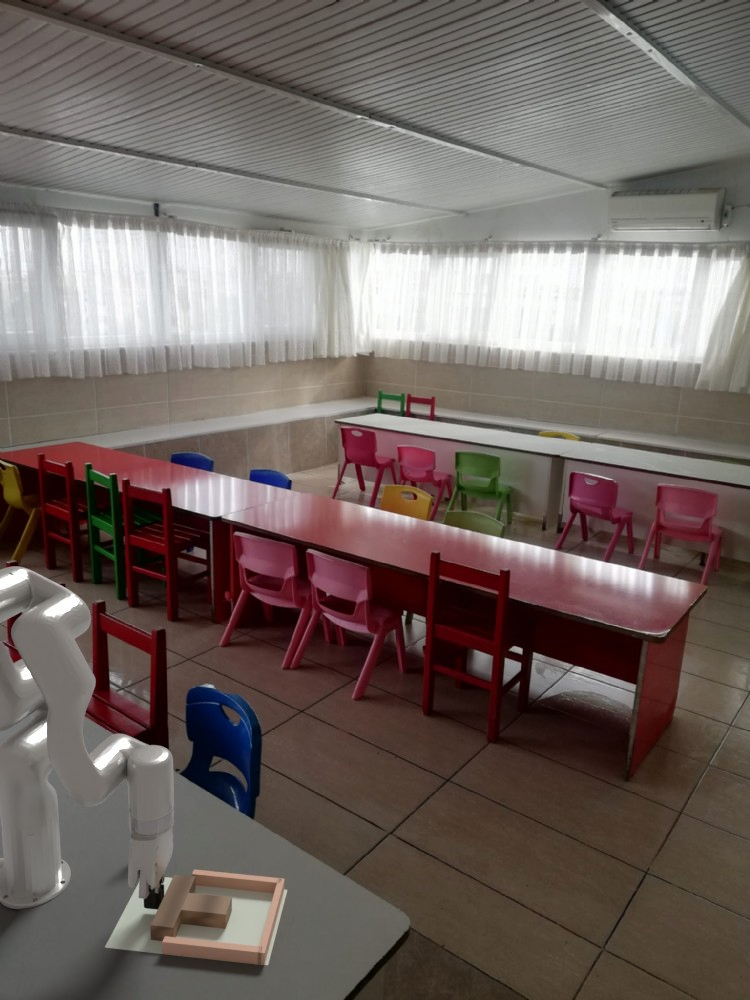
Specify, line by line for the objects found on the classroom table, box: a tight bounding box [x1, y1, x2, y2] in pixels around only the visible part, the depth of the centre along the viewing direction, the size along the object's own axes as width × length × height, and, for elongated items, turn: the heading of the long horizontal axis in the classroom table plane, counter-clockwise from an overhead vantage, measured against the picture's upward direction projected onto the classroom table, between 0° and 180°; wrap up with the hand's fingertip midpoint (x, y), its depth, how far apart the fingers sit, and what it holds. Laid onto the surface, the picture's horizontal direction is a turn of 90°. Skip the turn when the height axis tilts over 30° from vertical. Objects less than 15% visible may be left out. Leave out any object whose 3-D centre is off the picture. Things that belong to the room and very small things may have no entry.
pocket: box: [162, 869, 286, 966], centre depth 133 cm, size 17×17×2 cm
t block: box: [150, 874, 232, 941], centre depth 133 cm, size 12×12×3 cm
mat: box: [104, 876, 288, 967], centre depth 133 cm, size 28×17×1 cm, turn 86°
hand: (154, 905), depth 134 cm, fingers closed
